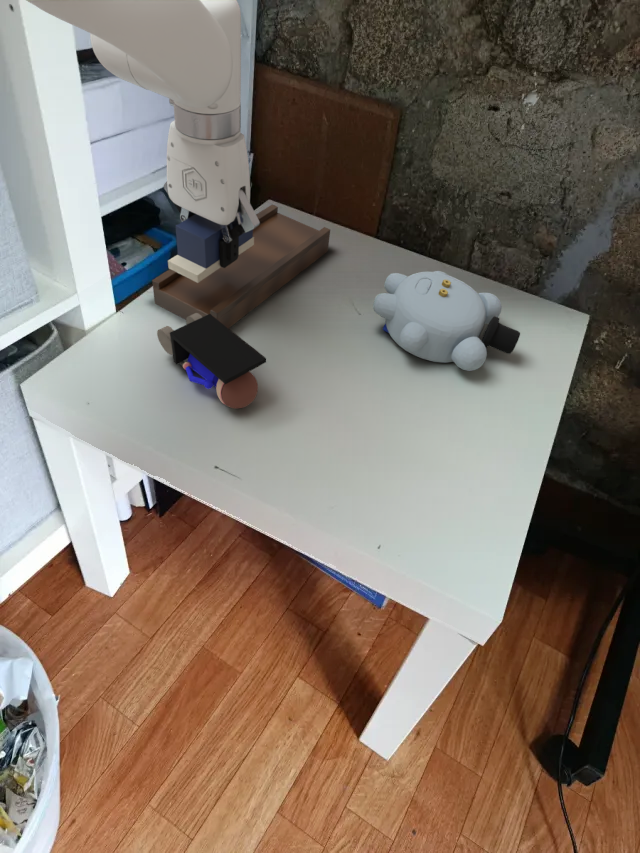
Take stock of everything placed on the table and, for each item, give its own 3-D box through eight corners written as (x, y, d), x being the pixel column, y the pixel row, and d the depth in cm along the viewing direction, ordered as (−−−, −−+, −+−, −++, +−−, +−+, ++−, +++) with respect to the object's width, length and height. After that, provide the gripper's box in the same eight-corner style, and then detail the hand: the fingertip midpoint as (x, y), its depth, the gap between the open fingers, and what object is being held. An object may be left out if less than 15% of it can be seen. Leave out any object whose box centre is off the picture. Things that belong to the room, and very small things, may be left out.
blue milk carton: (197, 283, 83) (195, 245, 79) (168, 268, 84) (165, 231, 80) (254, 244, 90) (254, 208, 86) (226, 231, 91) (225, 195, 87)
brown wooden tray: (217, 337, 87) (217, 313, 84) (154, 303, 90) (151, 280, 87) (327, 251, 104) (330, 229, 101) (271, 226, 107) (272, 204, 104)
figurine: (352, 349, 87) (490, 407, 85) (368, 300, 81) (517, 361, 79) (389, 283, 99) (511, 333, 97) (405, 236, 92) (536, 288, 90)
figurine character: (158, 368, 84) (228, 425, 76) (148, 319, 78) (223, 375, 71) (200, 348, 87) (271, 401, 79) (193, 300, 82) (269, 351, 74)
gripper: (129, 104, 74) (145, 243, 87) (247, 152, 69) (245, 292, 82) (173, 87, 78) (182, 221, 92) (287, 131, 73) (279, 266, 86)
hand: (212, 253), depth 87 cm, fingers closed on blue milk carton, 5 cm apart
